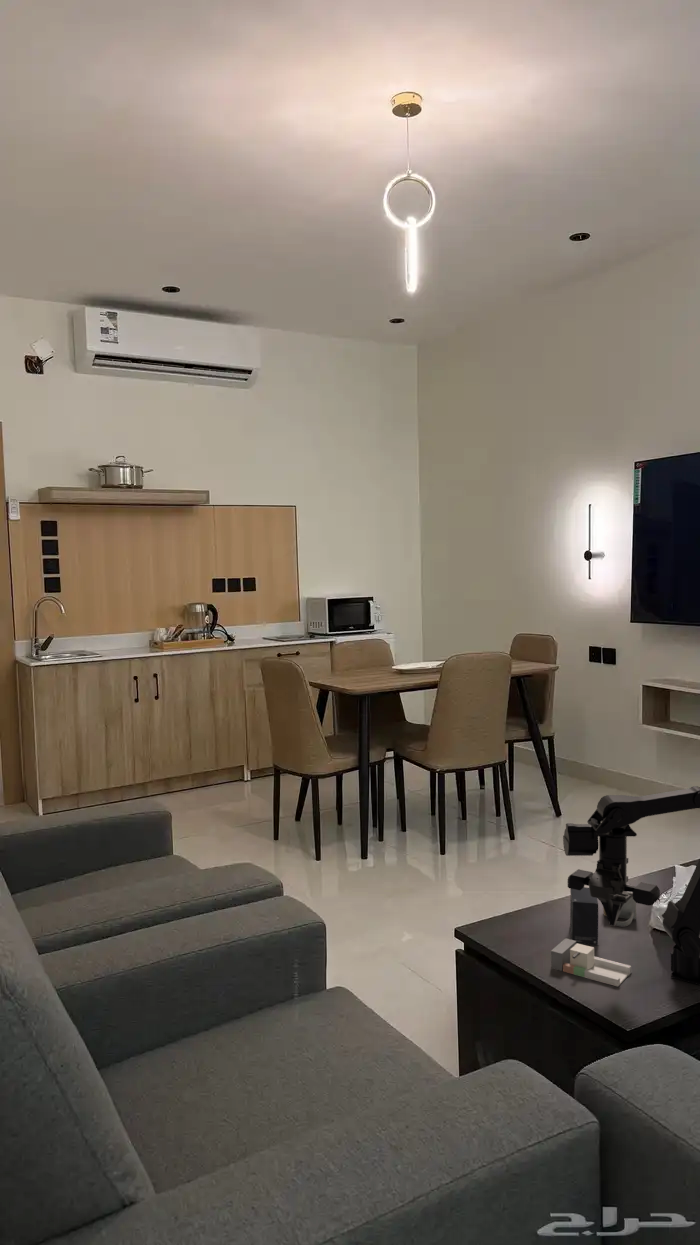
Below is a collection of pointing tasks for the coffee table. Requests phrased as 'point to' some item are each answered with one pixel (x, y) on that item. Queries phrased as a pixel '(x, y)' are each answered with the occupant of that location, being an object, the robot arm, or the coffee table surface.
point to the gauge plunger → (582, 956)
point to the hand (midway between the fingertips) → (612, 925)
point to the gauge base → (599, 972)
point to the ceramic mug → (626, 913)
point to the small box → (583, 917)
